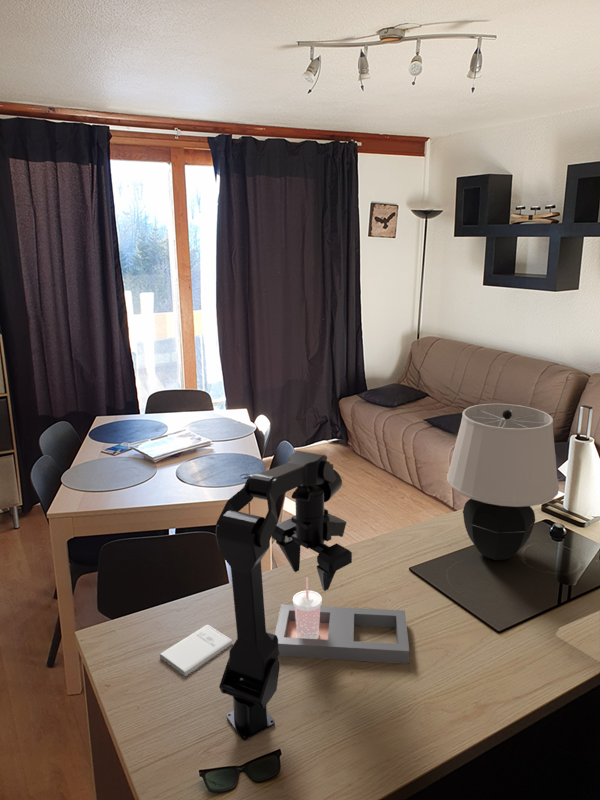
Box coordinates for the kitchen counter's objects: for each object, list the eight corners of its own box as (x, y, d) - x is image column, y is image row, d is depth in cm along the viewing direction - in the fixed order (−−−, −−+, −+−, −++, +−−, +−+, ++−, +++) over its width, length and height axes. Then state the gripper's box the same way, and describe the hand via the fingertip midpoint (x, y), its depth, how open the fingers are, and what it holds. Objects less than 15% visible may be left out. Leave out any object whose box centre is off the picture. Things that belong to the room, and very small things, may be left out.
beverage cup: (327, 639, 124) (327, 580, 120) (302, 649, 121) (301, 589, 118) (313, 623, 129) (312, 566, 126) (288, 632, 126) (286, 574, 123)
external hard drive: (160, 659, 120) (207, 629, 129) (185, 678, 115) (232, 645, 124) (159, 653, 120) (206, 623, 129) (184, 671, 114) (232, 639, 123)
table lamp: (496, 522, 173) (507, 390, 162) (574, 566, 150) (593, 416, 139) (421, 544, 162) (428, 404, 151) (493, 596, 138) (507, 434, 127)
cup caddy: (404, 622, 130) (404, 610, 129) (408, 663, 117) (409, 651, 116) (281, 615, 132) (281, 604, 132) (273, 655, 120) (272, 643, 119)
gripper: (371, 515, 116) (370, 584, 121) (309, 486, 130) (310, 549, 134) (330, 534, 110) (330, 607, 114) (269, 501, 123) (271, 567, 128)
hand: (310, 580), depth 123 cm, fingers open, 9 cm apart
